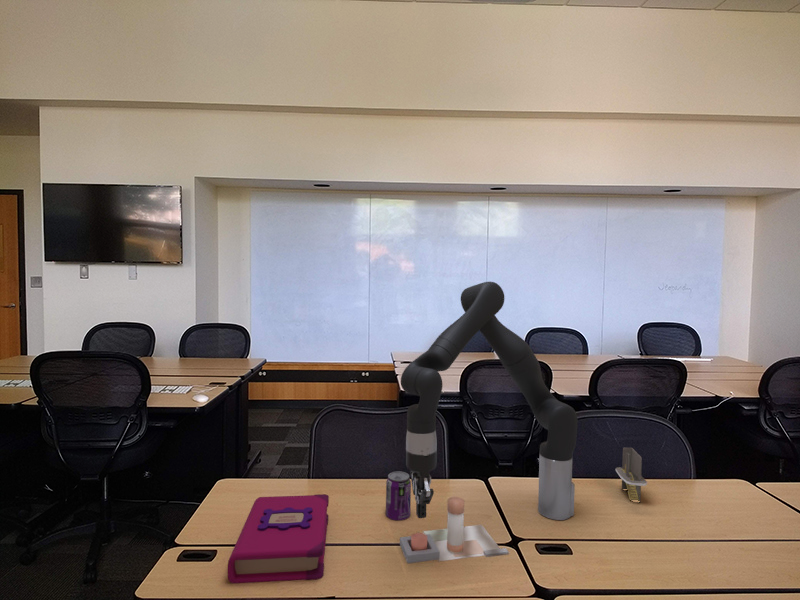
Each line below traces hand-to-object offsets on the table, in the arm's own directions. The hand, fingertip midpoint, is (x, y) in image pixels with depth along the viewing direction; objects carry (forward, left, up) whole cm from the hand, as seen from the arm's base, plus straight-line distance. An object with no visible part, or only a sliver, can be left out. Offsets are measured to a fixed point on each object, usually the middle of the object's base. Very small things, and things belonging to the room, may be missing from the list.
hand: (421, 516), depth 113 cm
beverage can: (+1, -19, -10) cm, 22 cm away
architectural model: (-75, -17, -10) cm, 77 cm away
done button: (0, 0, -9) cm, 9 cm away
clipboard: (-12, -2, -10) cm, 15 cm away
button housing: (0, 0, -10) cm, 10 cm away
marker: (-9, +1, -9) cm, 13 cm away
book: (+33, -11, -10) cm, 36 cm away
